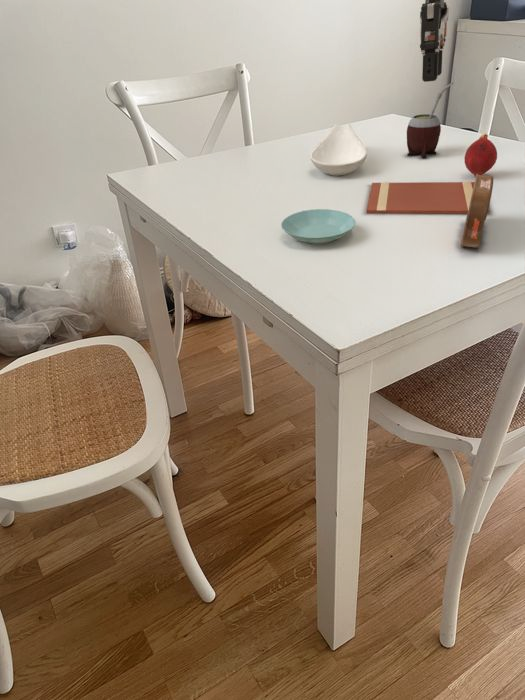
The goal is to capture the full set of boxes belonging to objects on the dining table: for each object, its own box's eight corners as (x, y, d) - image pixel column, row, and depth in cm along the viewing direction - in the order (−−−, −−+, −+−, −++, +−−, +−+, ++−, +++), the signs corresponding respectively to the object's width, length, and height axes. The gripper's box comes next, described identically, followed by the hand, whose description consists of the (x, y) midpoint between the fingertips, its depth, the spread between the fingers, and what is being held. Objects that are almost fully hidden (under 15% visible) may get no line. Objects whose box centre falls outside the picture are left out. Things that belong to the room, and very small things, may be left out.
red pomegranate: (489, 182, 102) (496, 138, 97) (458, 179, 105) (464, 137, 100) (496, 173, 106) (503, 131, 101) (466, 171, 109) (472, 129, 104)
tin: (466, 218, 89) (473, 166, 84) (487, 219, 88) (495, 166, 83) (458, 256, 77) (466, 198, 73) (481, 258, 76) (491, 200, 72)
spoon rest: (366, 180, 109) (367, 143, 105) (308, 181, 111) (306, 145, 107) (367, 148, 128) (368, 116, 124) (318, 150, 130) (317, 119, 126)
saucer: (369, 231, 87) (370, 218, 86) (322, 257, 81) (321, 242, 80) (315, 216, 95) (314, 204, 93) (267, 239, 88) (266, 225, 87)
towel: (480, 185, 101) (480, 181, 101) (488, 214, 89) (489, 210, 89) (372, 185, 106) (372, 182, 106) (366, 213, 94) (366, 210, 94)
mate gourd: (402, 151, 124) (407, 79, 115) (438, 149, 123) (445, 76, 114) (408, 160, 117) (414, 85, 109) (445, 158, 117) (454, 82, 108)
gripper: (461, -53, 72) (454, 80, 81) (465, -45, 84) (459, 71, 92) (404, -43, 75) (402, 85, 83) (415, -36, 86) (413, 76, 94)
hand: (432, 78), depth 87 cm, fingers open, 8 cm apart
